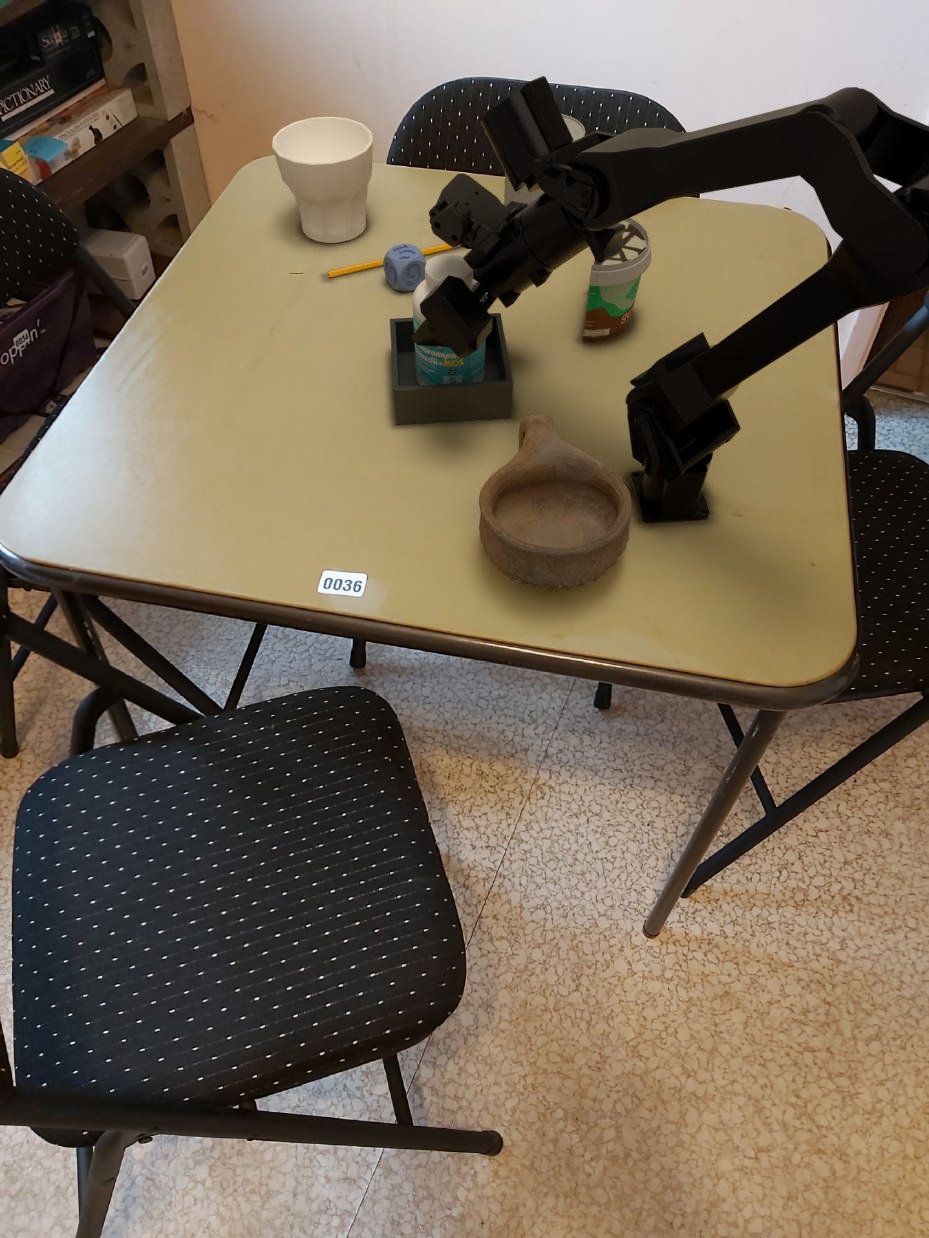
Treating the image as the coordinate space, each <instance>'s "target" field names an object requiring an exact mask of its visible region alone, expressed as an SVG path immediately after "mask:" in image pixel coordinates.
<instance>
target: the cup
mask: <svg viewBox="0 0 929 1238" xmlns="http://www.w3.org/2000/svg"><path fill="white" fill-rule="evenodd" d="M373 136H374V135H373V132H372V131H371V130H370V129H369V128H368V127H367V126H366V125H365V124H364V123H361V122H359V121H356V120H353V119H351V118H345V117H338V116H319V117H318V116H316V117H309V118H304V119H301V120H297V121H294V122H292V123H290V124H288V125H286V126H283V127H281V129H280V130H279V131H278V132H276V134H275V135H274V136H273V137H272V141H271V142H272V144H271V146H272V147H271V149H272V152H273V154H274V158H275V161H276V164H277V168H278V170H279V172H280V176H281V180H282V181H283V183H284V184H285V185H286V186H287V187H288V188H289V190H290V192H291V194H292V195H293V196H294V199H295V202H296V205H297V209H298V212H299V214H300V219H301V220H300V221H301V227H302V232H303V234H304V235H305V236H306V237H307V238H309V239H311V240H313V241H315V242H319V243H324V244H340V243H344V242H348V241H351V240H354V239H355V238H357V237H358V236H360V235H361V234H362V233H363V232H364V231H365V230H366V228H367V223H366V222H367V220H366V216H367V215H366V213H367V199H368V188H369V183H370V180H371V179H372V177H373V157H374V155H373V151H374V137H373Z"/></svg>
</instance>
